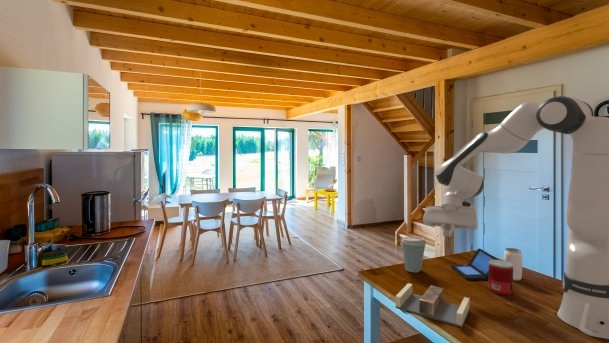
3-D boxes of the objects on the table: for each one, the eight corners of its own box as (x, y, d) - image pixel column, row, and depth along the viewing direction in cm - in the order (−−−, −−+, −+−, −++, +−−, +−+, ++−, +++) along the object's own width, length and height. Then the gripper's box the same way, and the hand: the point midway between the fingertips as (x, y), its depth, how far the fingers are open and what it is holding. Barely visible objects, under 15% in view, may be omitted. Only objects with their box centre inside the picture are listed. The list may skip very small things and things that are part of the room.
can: (524, 281, 129) (525, 252, 128) (507, 280, 130) (508, 252, 129) (517, 275, 135) (517, 248, 134) (500, 274, 136) (501, 247, 135)
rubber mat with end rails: (469, 310, 106) (469, 298, 106) (461, 327, 96) (462, 314, 96) (408, 293, 119) (408, 283, 119) (395, 307, 109) (395, 296, 108)
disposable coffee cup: (396, 269, 143) (396, 237, 142) (410, 263, 150) (410, 233, 149) (416, 276, 135) (417, 242, 134) (430, 270, 142) (430, 238, 141)
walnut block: (443, 288, 113) (433, 303, 102) (443, 299, 113) (433, 315, 102) (430, 285, 116) (419, 299, 105) (430, 295, 116) (419, 311, 105)
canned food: (516, 296, 116) (517, 267, 115) (492, 294, 118) (493, 265, 117) (507, 287, 123) (508, 260, 123) (485, 285, 125) (485, 258, 124)
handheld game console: (449, 267, 146) (450, 247, 145) (478, 266, 146) (478, 247, 145) (467, 281, 130) (467, 259, 129) (499, 281, 130) (499, 259, 129)
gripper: (424, 201, 135) (418, 228, 128) (478, 204, 123) (474, 234, 115) (427, 209, 139) (421, 236, 131) (480, 213, 126) (476, 243, 119)
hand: (446, 235), depth 123 cm, fingers closed
